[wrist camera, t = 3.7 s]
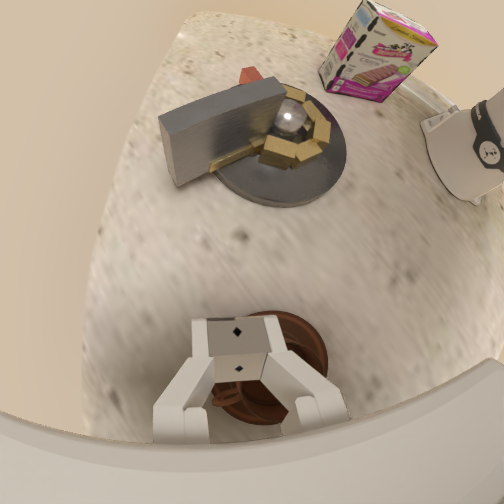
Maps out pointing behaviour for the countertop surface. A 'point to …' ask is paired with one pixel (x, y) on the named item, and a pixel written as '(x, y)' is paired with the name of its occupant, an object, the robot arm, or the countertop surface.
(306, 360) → the cup and saucer
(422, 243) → the countertop surface
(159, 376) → the countertop surface
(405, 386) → the countertop surface
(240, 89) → the gray slab gold ring
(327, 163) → the cap plate
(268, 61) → the countertop surface
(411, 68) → the candy bar box
